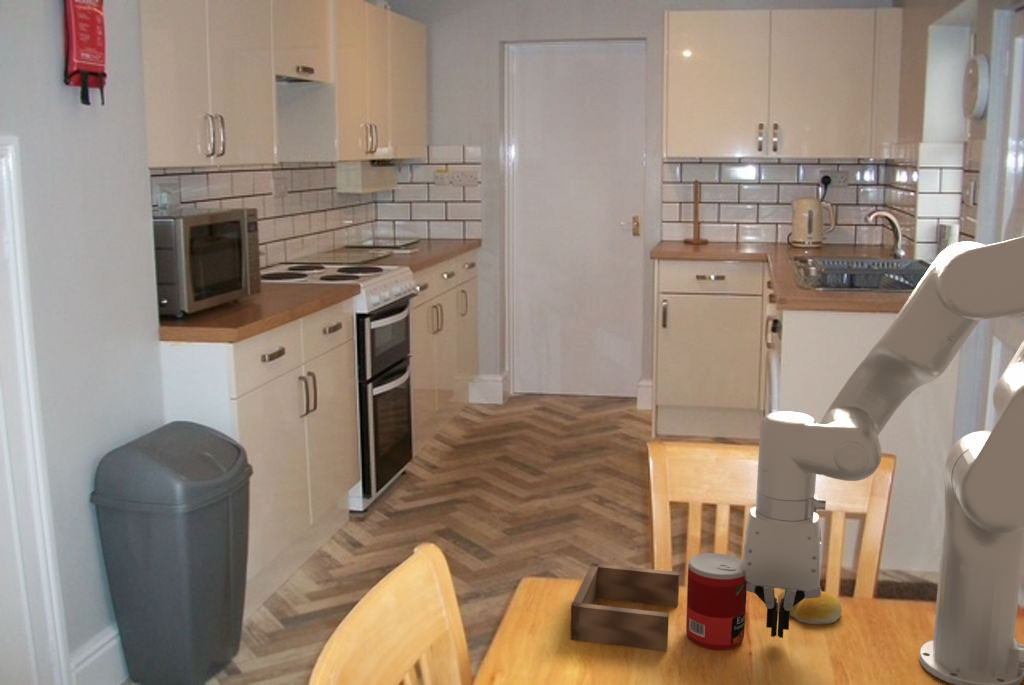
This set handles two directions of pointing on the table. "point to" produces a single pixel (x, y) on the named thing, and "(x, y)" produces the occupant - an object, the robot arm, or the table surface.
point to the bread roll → (816, 609)
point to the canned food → (716, 601)
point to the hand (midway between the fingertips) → (777, 632)
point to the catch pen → (624, 622)
